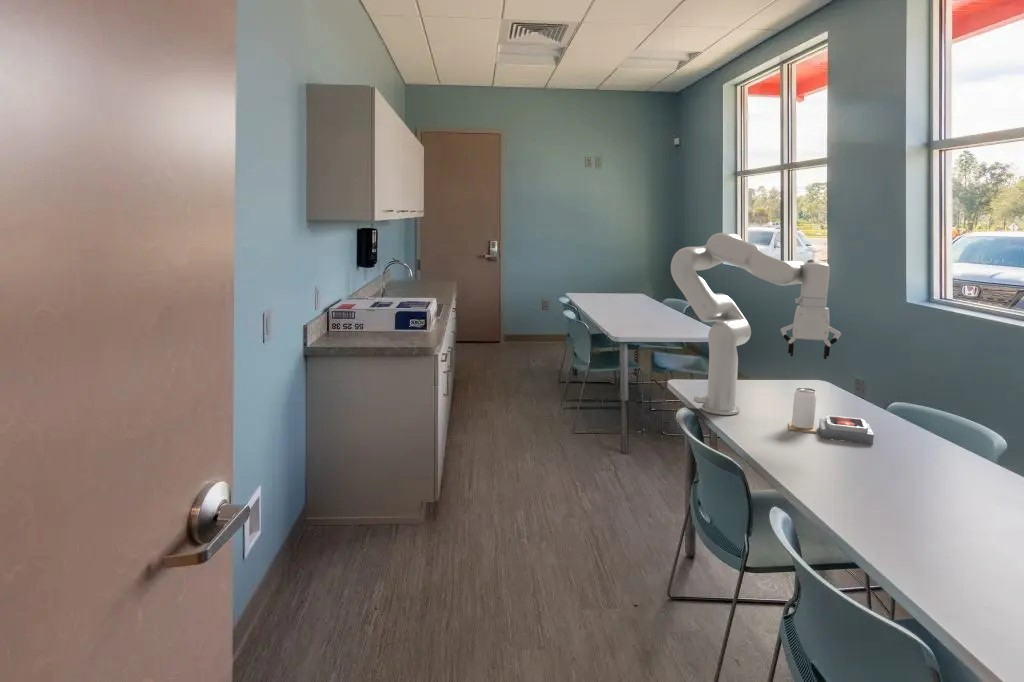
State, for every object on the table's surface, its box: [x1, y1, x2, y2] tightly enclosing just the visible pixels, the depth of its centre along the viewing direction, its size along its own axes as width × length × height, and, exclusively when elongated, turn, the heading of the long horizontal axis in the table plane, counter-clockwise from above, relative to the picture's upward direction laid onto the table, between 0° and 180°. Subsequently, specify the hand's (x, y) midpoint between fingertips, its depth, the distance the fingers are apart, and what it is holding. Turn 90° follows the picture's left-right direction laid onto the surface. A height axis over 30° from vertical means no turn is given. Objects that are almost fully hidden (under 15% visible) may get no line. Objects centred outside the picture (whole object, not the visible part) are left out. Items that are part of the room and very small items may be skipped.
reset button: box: [837, 421, 855, 426], centre depth 204 cm, size 5×5×3 cm
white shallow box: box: [818, 414, 875, 445], centre depth 204 cm, size 14×12×4 cm
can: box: [791, 387, 817, 429], centre depth 211 cm, size 6×6×12 cm
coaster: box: [788, 421, 818, 434], centre depth 212 cm, size 8×8×1 cm
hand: (808, 357), depth 208 cm, fingers open, 9 cm apart
